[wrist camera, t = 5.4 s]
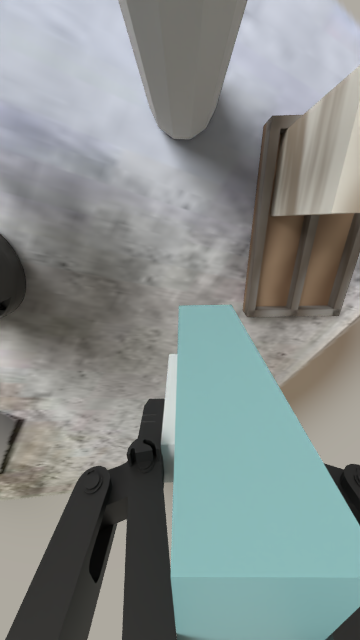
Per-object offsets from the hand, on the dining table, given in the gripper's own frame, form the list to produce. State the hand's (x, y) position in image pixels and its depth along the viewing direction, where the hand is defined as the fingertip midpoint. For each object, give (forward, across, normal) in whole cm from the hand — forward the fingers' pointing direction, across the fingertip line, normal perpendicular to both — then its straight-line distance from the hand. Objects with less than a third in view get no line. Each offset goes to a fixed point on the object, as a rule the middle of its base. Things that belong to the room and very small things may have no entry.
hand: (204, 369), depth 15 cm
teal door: (+1, 0, 0) cm, 1 cm away
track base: (+18, +14, +8) cm, 24 cm away
